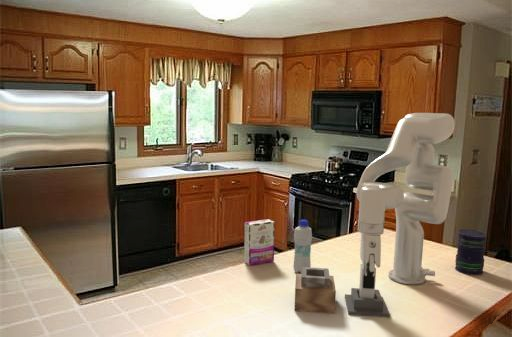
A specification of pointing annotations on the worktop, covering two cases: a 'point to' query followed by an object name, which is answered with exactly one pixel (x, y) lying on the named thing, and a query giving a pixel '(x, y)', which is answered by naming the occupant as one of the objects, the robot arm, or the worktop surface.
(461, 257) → the storage jar
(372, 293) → the plug
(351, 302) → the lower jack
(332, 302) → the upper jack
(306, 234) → the bottle
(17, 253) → the worktop surface
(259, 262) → the candy bar box
